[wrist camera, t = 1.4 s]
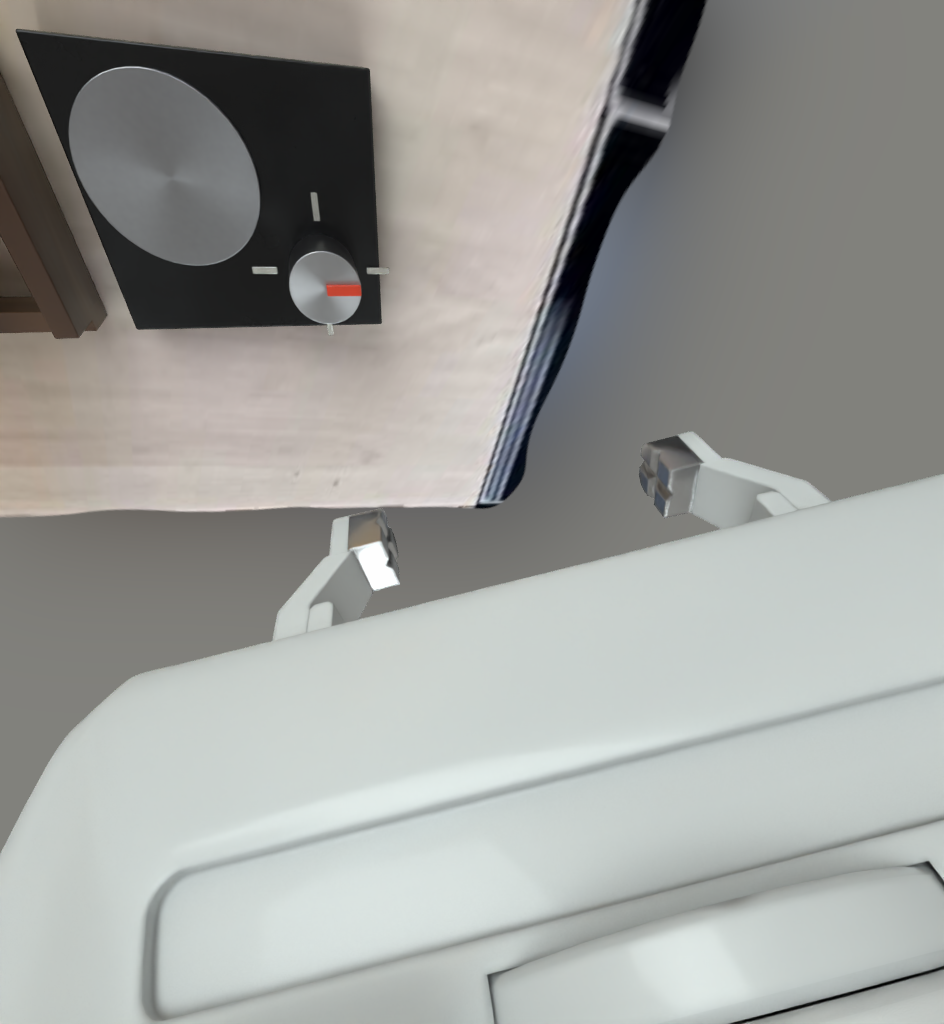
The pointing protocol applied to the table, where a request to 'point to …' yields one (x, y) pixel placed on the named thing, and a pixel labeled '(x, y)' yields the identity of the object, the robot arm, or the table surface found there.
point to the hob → (280, 168)
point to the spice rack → (39, 243)
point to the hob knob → (323, 279)
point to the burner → (164, 165)
